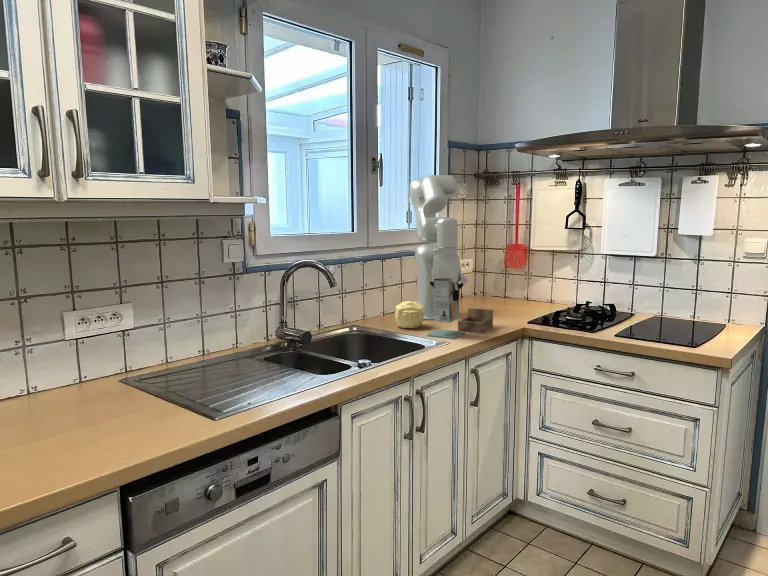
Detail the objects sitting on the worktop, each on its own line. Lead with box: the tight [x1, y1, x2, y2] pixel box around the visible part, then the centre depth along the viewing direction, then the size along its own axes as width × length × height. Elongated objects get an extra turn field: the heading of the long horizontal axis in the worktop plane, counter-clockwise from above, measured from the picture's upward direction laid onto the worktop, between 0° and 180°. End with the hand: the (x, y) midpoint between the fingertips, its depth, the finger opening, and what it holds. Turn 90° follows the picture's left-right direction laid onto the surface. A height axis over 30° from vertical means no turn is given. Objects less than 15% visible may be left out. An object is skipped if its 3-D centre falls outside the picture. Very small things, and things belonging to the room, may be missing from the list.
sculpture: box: [394, 300, 424, 329], centre depth 224 cm, size 11×12×11 cm
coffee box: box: [434, 278, 460, 324], centre depth 209 cm, size 9×6×16 cm
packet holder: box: [457, 307, 494, 334], centre depth 220 cm, size 10×13×7 cm
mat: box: [426, 328, 466, 340], centre depth 211 cm, size 11×11×1 cm
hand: (446, 299), depth 209 cm, fingers closed on coffee box, 6 cm apart
